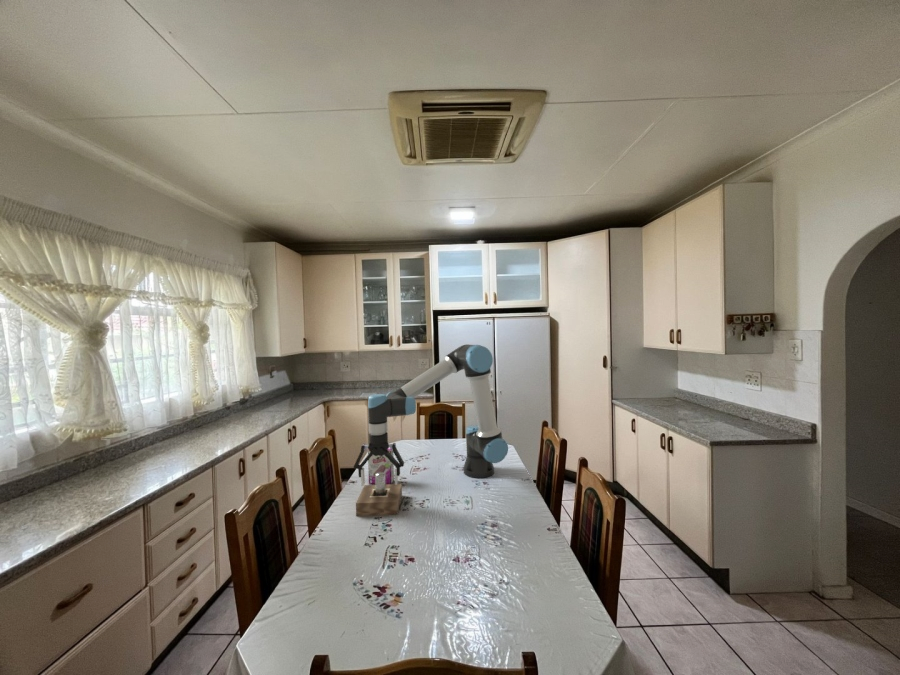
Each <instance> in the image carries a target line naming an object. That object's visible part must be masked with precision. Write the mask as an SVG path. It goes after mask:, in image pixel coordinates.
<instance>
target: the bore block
mask: <svg viewBox="0 0 900 675" xmlns="http://www.w3.org/2000/svg"><path fill="white" fill-rule="evenodd" d="M402 485H403V484H402V483H397V485H395V483H392V484H385V496H376V484H364V486H362V490H361V491H360V493H359V496H358V498H357V500H356V502H355V516H356V517H366V516H367V517H368V516H369V517H370V516H389V515H393V516H394V515H395V516H396V515H399V511H400V505H401V501H402V498H403V497H402V496H403V489H402V488H403V487H402Z"/></svg>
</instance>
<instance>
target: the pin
mask: <svg viewBox="0 0 900 675" xmlns="http://www.w3.org/2000/svg"><path fill="white" fill-rule="evenodd" d="M374 485H376V496H385V472H377V473H376V474H375V484H374Z"/></svg>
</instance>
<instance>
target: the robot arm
mask: <svg viewBox="0 0 900 675" xmlns="http://www.w3.org/2000/svg"><path fill="white" fill-rule="evenodd" d="M493 362H494V357H493V353H491V351H490V349H489V348H487V347H486V346H483V345H480V344H464V345H461V346H459V347H457V348H455V349H454V350H453V351H451V352H449V353H448V354H446V355H445V356H444V358H443V360H441V361H439V362H438V363H436V364H435V365H433V366H432V367H430V368H429V369H427V370H425V371H424V372H422V373H421V374H420V375H418V376H416V377H415V378H413V379H412V380H410V381H409V382H407V383H406V384H404V385H402V386H401V387H399V388H398V389H396V390H395V391H394V390H393V391H389V392H388V393H386V394H385V393H374V394H371V395H369V396H368V399H367V400H368V402H367V410H368V411H367V415H368V433H369V434H368V444H365V443H363V444H362V445H361V446H360V452H359V455H358V456H357V458H356V461H355V463H354V464H353V468H354V469H357V470H358V471H357V472H358V478H360V483H361V487H364V485H365V482H366V481H365V465H366V464H367V463H368V460H369V459H370V457H371V456H372V455H374V456H378V455H379V456H382V455H385V456H386V457H387V458H388V459H389V460H390V461H391V462H392V463H393V464H394V484H395V485H397V484H399V483H398V482H399V481H398V480H399V476H401V468H402V467H404V466H405V462H404V459H403V458H402V455H400V452H399V451H398V449H397V444H396V442H393V443H389V439H388V438H389V436H388V435H389V434H388V418H391V417H392V418H394V417H401V416H411V415H414V414H415V413H416V410H417V403H416V399H415V398H417V397H418V396H420V395H421V394H423V393H424V392H426V391H427V390H430V388H432V387H433V386H435V385H436V384H438V383H439V382H441V381H442V380H445V378H447V377H449V376H450V375H452V374H457V373H458V372H460V371H462V370H464V375H465V377H466V379H467V380H469V383H470V390H471V395H472V400H473V405H474V406H473V407H474V411H475V412H474V413H475V417H476V421H477V422H476V423H477V424H475V425H470V426H468V427H466V429H465V430H466V431H465V432H466V433H465V438H466V439H465V440H466V441H465V442H466V445H465V446H466V458H465V462H464V466H463V474H464V475H465V476H468V477H470V478H475V479H482V478H483V479H484V478H488V477H491V476H493V475H494V473H495V467H494V464H498V463H500V462H502V461H503V460H504V459H505V458H506V457H507V455H508V452H509V445H508V443H507V441H506V439H503V435H502V430H501V428H500V427H498V424H497V420H496V419H497V418H496V413H495V408H494V403H493V396H492V391H491V390H492V389H491V386H490V385H491V384H490V380H489V376H490V374H491V373H492V372H491V369H492V365H493ZM389 447H390V448H391V449H392V450H393V456H395V457H393V456H392V455H391V454H390V453H389V451H388V448H389ZM368 449H369V450H370V453H369V454H368V453H367V456H366V457H365V458H364V459H363V461H361V460H362V457H363V455H364V453H365V452H366V450H368ZM360 462H361V463H360Z"/></svg>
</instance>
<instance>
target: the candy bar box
mask: <svg viewBox="0 0 900 675" xmlns="http://www.w3.org/2000/svg"><path fill="white" fill-rule="evenodd" d="M388 451H389V453H390V454H391V455H392V456H393V457H394V456H395V455H394V452H393V450H392V449H391V448H390V447H389V448H388ZM369 453H370V450H369V449H368V448H367V455H368V454H369ZM394 458H395V457H394ZM367 464H368V485H376V484H375V474H376V473H377V472H385V484H394V482H395V466H394V464H393V463H392V462H391V461H390V460H389V459H388V458H387V457H386V456H385V455H382V456H379V455H378V456H374V455H372V456H371V457H370V459H369V460H368V461H367Z"/></svg>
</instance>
